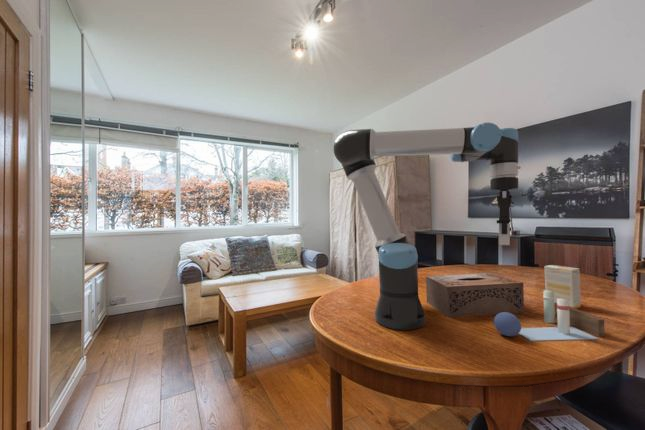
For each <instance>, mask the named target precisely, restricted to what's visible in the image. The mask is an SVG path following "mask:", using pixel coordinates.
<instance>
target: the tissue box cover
mask: <svg viewBox="0 0 645 430" xmlns="http://www.w3.org/2000/svg"><path fill="white" fill-rule="evenodd" d="M425 290H426V291H425V292H426V303H427V304H429V305H430V306H431V307H433V308H434V309H436V310H437V311H439V312H440V313H441V314H443V315H445V316H446V317H447V318H455V317H471V316H487V315H488V316H489V315H497V314H499V313H501V312H508V313H511V314H517V313H518V314H519V313H525V301H524V299H525V297H524V293H525V292H524V282H522V281H519V280H516V279H513V278H510V277H506V276H504V275H500V274H496V273H494V272H483V273H465V274H464V273H463V274H462V273H461V274H460V273H459V274H445V275H444V274H443V275H426V276H425Z"/></svg>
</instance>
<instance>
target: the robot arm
mask: <svg viewBox="0 0 645 430" xmlns="http://www.w3.org/2000/svg"><path fill="white" fill-rule="evenodd" d="M519 144H520V141H519V132H518V129H516V128H514V127H504V128H500V127H499V126H498V125H497V124H495V123H493V122H482V123H480V124H478V125H476V126H473V127H471V126H470V127H457V128H455V127H454V128H452V127H451V128H434V129H413V130H394V131H393V130H392V131H390V130H389V131H375V130H374V129H373V128H364V129H350V130H346V131H344V132H342V133H340V134H339V135H338V136H337V137H336V139H335V140H334V143H333V148H332V149H333V154H334V157H335V159H336V160H337V161H338V162H339V163H340V164H341V166H342V169H343V171H344V174H345V176H346V178H347V179H348V180H350V181H352V183H353V185H354V187H355V190H356V192H357V195H358V197H359V200H360V202H361V204H362V207H363V209H364V212H365V214H366V217H367V219H368V222H369V224H370V227H371V230H372V231H373V234H374V237H375V239H376V242H375V244H374V248H375V249H376V252H377V258H378V272H379V273H378V276H379V278H378V279H379V297H378V300H377V302H376V306H375V310H374V320H375V322H376V323H378V325H380V326H382V327H384V328H389V329H392V330H398V331H411V330H416V329H420V328H422V327H424V326H425V324H426V314H425V311H424V308H423V305H422V303H421V300H420V296H419V275H418V274H419V273H418V271H419V270H418V259H419V255H418V251H417V248H416V246H414V245H412V244H410V243H409V241H408V239H407V236H406V234H404V233H403V232H400V230H399V228H398V226H397V222H396V221H395V217H394V216H393V213H392V211H391V209H390V206H389V203H388V201H387V199H386V197H385V195H384V192H383V190H382V187H381V184H380V182H379V180H378V177H377V175H376V173H375V171H376V169H377V164H376V161H375V160H374V159H375V158H376V157H395V156H397V157H398V156H433V155H435V156H436V155H438V156H439V155H450V160H451V161H452V162H454V163H464V162H480V161H490V162H489V163H490V164H489V165H490V166H489V167H490V168H489V171H490V172H489V176H490V178H491V179H490V182H489V183H490V190H491V191H499V193H498V195H496V201H497V207H498V209H499V217H498V219H496V224H498V245H500V246H510V245H511V243H510V242H511V241H510V240H511V238H510V234H511V225H510V224H511V218H510V207H511V205H512V197H513V196H512V194H511V192H510V191H513V190H518V188H519V178H518V177H517V176H519V170H520V169H521V168H522V166H520V165H519Z"/></svg>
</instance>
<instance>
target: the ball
mask: <svg viewBox="0 0 645 430" xmlns="http://www.w3.org/2000/svg"><path fill="white" fill-rule="evenodd" d="M493 324H494V327H495V329H496V330H497V332H499V333H500V334H501V335H503V336H505V337H506V336H507V337H515V336H517V335H519V332H520V330H521V328H522V323H521V320H520V319H519V318H518V317H517V316H516V315H515V314H514V313H508V312H501V313H499V314H495V316H494V318H493Z"/></svg>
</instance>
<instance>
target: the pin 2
mask: <svg viewBox="0 0 645 430" xmlns="http://www.w3.org/2000/svg"><path fill="white" fill-rule="evenodd" d="M569 310H570V309H569V300H566V299H557V318H556V319H557V327H558V332H559V333H561V334H564V335H570V327H571V324H570V318H569Z"/></svg>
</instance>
